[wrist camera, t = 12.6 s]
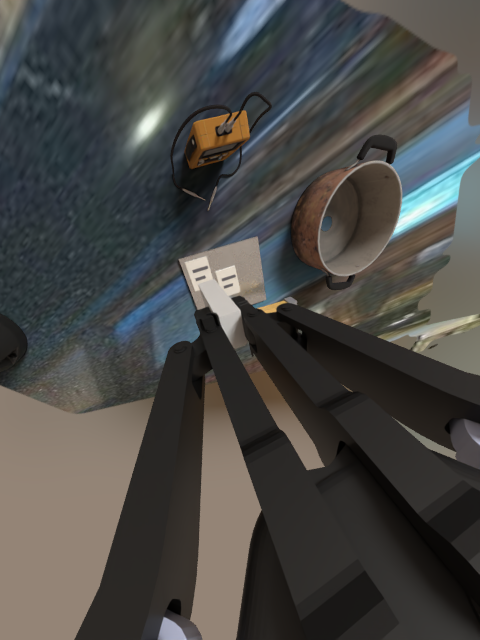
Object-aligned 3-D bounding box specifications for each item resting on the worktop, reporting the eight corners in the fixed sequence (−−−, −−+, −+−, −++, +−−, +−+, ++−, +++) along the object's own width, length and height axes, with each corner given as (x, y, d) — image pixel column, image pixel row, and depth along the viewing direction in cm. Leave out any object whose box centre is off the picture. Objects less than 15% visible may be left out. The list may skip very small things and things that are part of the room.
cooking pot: (301, 142, 39) (341, 121, 30) (378, 156, 46) (428, 143, 37) (281, 281, 54) (304, 295, 45) (342, 276, 61) (372, 287, 52)
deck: (203, 324, 51) (208, 338, 46) (178, 258, 42) (180, 265, 36) (265, 301, 55) (277, 312, 49) (256, 236, 45) (269, 239, 39)
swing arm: (235, 325, 46) (239, 331, 44) (233, 311, 44) (237, 317, 42) (290, 308, 50) (296, 313, 48) (290, 295, 48) (297, 299, 46)
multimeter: (186, 217, 39) (203, 221, 22) (163, 155, 33) (163, 98, 17) (250, 197, 41) (309, 187, 24) (239, 136, 35) (305, 69, 19)
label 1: (195, 290, 45) (195, 291, 45) (184, 262, 42) (184, 263, 41) (214, 284, 46) (215, 285, 46) (206, 256, 43) (206, 256, 42)
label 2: (222, 297, 49) (222, 298, 48) (215, 271, 45) (215, 272, 45) (240, 291, 50) (240, 292, 49) (234, 265, 46) (235, 266, 45)
